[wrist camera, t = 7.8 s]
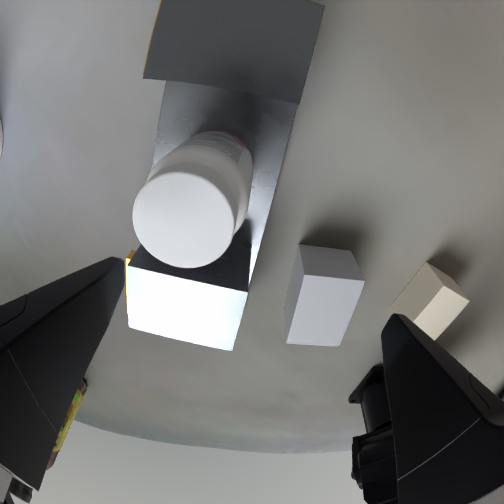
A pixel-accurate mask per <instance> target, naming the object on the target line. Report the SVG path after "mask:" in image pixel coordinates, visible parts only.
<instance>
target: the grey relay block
mask: <svg viewBox="0 0 504 504" xmlns="http://www.w3.org/2000/svg"><path fill="white" fill-rule="evenodd" d="M364 283H365V280H364V277H363V275H362V273H361V271H360V269H359V267H358V264H357V262H356V260H355V258H354V256H353V254H352V252H351V251H349V250H341V249H334V248H326V247H318V246H310V245H302V244H298V248H297V253H296V258H295V262H294V267H293V271H292V276H291V280H290V285H289V289H288V293H287V298H286V302H285V306H284V317H285V332H286V343H290V344H304V345H320V346H339V344H340V342H341V340H342V338H343V335H344V333H345V331H346V328H347V326H348V324H349V321H350V319H351V316H352V314H353V311H354V309H355V306H356V304H357V301H358V299H359V296H360V294H361V291H362V288H363V286H364Z"/></svg>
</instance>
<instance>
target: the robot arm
mask: <svg viewBox="0 0 504 504" xmlns="http://www.w3.org/2000/svg"><path fill="white" fill-rule="evenodd" d="M124 283H125V272H124V261H123V259H121V258H117V257H109V258H107V259H104V260H102V261H100V262H97V263H95V264H92V265H90V266H88V267H85V268H83V269H81V270H79V271H76V272H74V273H72V274H69V275H67V276H65V277H63V278H60V279H58V280H56V281H54V282H51V283H49V284H47V285H45V286H42V287H40V288H38V289H36V290H34V291H32V292H29V293H28V295H27V294H25V295H23V296H21V297H19V298H17V299H14V300H12V301H10V302H8V303H6V304H3V305H1V306H0V504H14V502H13V500H12V498H11V495H10V493H9V490H8V488H9V485H10V482H11V480H12V477H14V478H16V479H17V480H19V481H21V482H22V483H24V484H26V485H27V486H29V487H31V488H33V489H35V490H36V491H39V489H40V486H41V483H42V480H43V477H44V474H45V471H46V468H47V465H48V462H49V459H50V457H51V454H52V451H53V449H54V446H55V443H56V441H57V438H58V434H59V432H60V430H61V427H62V425H63V422H64V420H65V418H66V415H67V413H68V410H69V408H70V406H71V403H72V401H73V399H74V396H75V394H76V392H77V390H78V387H79V385H80V383H81V381H82V379H83V377H84V374H85V372H86V370H87V368H88V366H89V364H90V362H91V360H92V358H93V356H94V353H95V351H96V349H97V347H98V345H99V343H100V341H101V339H102V337H103V335H104V334H105V332H106V330H107V327H108V325H109V323H110V321H111V318H112V315H113V313H114V310H115V308H116V305H117V302H118V300H119V297H120V295H121V292H122V290H123V287H124ZM381 341H382V352H383V364H384V367H375V368H373V369H372V370H371V371H370V372H369V373H368V375H367V376H366V377H365V379H364V380H363V381H362V382H361V384H360V385H359V386H358V388H357V389H356V390H355V391H354V393H353V394H352V395H351V396H350V397H349V399H348V400H349V403H358V404H361V408H362V413H363V418H364V423H365V427H366V432H367V433H366V434H364V435H361V436H356V437H353V444H352V465H353V466H352V472H351V476H352V479H354V480H356V481H357V484H358V486H359V488H360V489H363V495H364V500H365V501H366V502H367V503H368V504H504V402H503V401H502V400H501V399H500V398H499V397H497V396H496V395H495V394H494V393H493V392H491V391H490V390H489V389H488V388H487V387H486V386H484V385H483V384H482V383H481V382H480V381H479V380H478V379H477V378H476V377H474V376H473V375H472V374H471V373H470V372H469V371H468V370H467V369H466V368H465V367H463V366H462V365H461V364H460V363H459V362H458V361H457V360H456V359H455V358H454V357H452V356H451V355H450V354H449V353H448V352H447V351H446V350H445V349H443V348H442V347H441V346H440V345H439V344H438V343H437V342H435V341H434V340H433V339H432V338H431V337H430V336H429V335H427V334H426V333H425V332H424V331H423V330H422V329H420V328H419V327H418V326H417V325H416V324H415V323H413V322H412V321H411V320H410V319H409V318H408V317H406V316H405V315H403V314H398V313H394V314H392V315H391V317H390V318H389V320H388V322H387V323H386V325H385V327H384V328H383V330H382V333H381Z"/></svg>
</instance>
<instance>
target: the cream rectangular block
mask: <svg viewBox="0 0 504 504" xmlns="http://www.w3.org/2000/svg"><path fill="white" fill-rule="evenodd" d="M468 303H469V300H468V298H467V297H466V296H465V294H464V293H463V292H462V290H461V289H460V288H459V286H458V285H457V284H456V282H455V281H454V280H453V279H452V278H451V277H450V276H448V275H446V274H445V273H443V272H442V271H440V270H439V269H437V268H435V267H434V266H432V265H431V264H429V263H427V262H425V264H424V265H423V266H422V268H421V269H420V270H419V272H418V273H417V274H416V276H415V277H414V278H413V279H412V281H411V282H410V283H409V285H408V286H407V287H406V288H405V290H404V291H403V292H402V293H401V294H400V296H399V297H398V298H397V299H396V301H395V302H394V303H393V304H392V305H391V307H392V309H393V312H394V313H398V314H403V315H405V316H406V317H408V318H409V319H410V320H411V321H412V322H413V323H415V324H416V325H417V326H418V327H419V328H420V329H422V330H423V331H424V332H425V333H426V334H427V335H429V336H430V337H431V338H432V339H433V340H434V341H435V340H436V339H437V338H438V336H439V335H440V334H441V333H442V332H443V331H444V330H445V329H446V328H447V327H448V326H449V325H450V323H451V322H452V321H453V320H454V319H455V318H456V317H457V316H458V314H459V313H460V312H461V311H462V310H463V309H464V307H465V306H466V305H467V304H468Z"/></svg>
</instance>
